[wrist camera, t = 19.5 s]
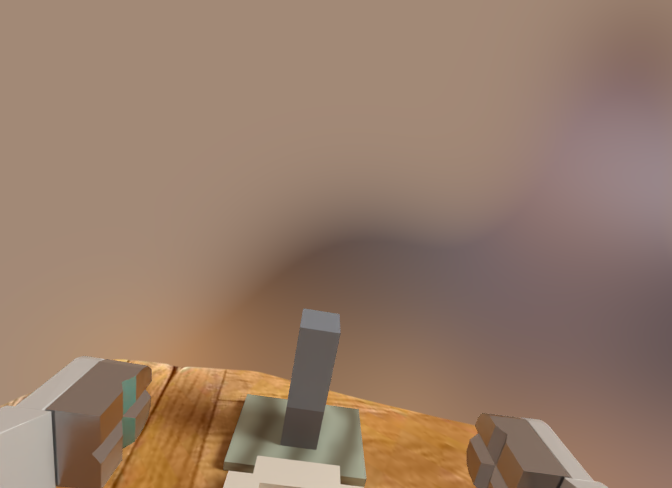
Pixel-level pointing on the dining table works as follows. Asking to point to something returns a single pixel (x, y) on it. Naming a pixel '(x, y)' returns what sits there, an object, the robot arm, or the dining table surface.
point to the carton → (286, 475)
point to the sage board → (265, 437)
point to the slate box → (310, 378)
